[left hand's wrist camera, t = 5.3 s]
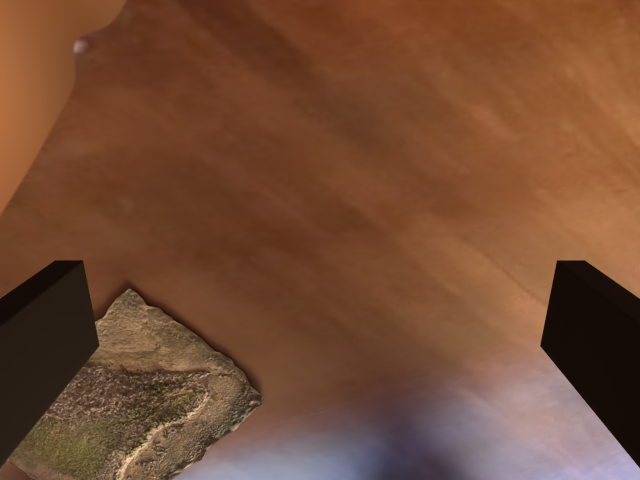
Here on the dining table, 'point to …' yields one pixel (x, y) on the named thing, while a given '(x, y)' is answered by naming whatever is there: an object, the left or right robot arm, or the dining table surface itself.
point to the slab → (138, 403)
